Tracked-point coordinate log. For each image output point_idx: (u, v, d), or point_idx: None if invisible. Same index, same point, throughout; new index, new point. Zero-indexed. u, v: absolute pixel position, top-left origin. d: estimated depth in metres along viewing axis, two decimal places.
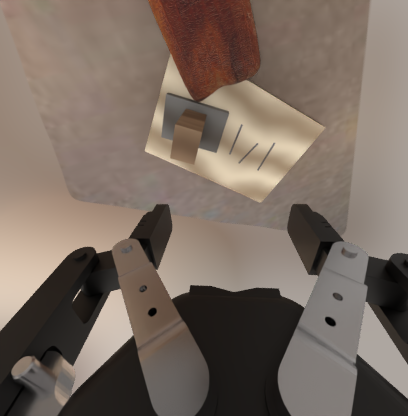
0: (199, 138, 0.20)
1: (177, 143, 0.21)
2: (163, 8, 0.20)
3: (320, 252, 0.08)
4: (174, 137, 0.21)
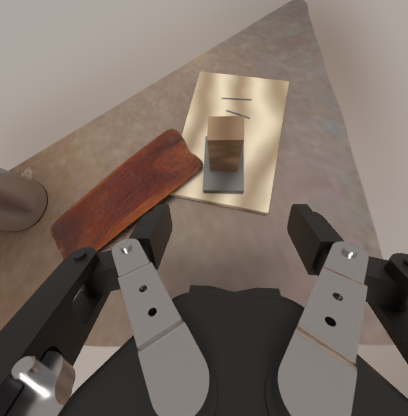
0: (214, 117, 0.21)
1: (225, 134, 0.20)
2: (150, 197, 0.28)
3: (320, 252, 0.08)
4: (219, 138, 0.20)
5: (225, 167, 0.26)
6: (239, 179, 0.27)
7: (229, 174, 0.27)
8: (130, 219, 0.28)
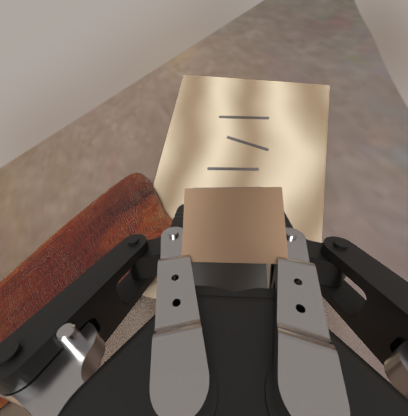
0: (201, 191, 0.08)
1: (233, 245, 0.07)
2: None
3: None
4: (217, 258, 0.07)
5: None
6: (258, 275, 0.14)
7: (238, 265, 0.14)
8: None
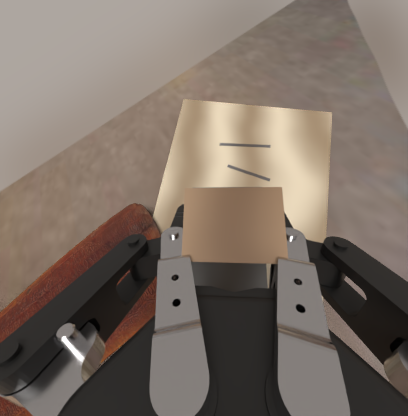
0: (201, 191, 0.08)
1: (233, 245, 0.07)
2: None
3: None
4: (217, 258, 0.07)
5: None
6: (258, 275, 0.14)
7: (238, 265, 0.14)
8: None
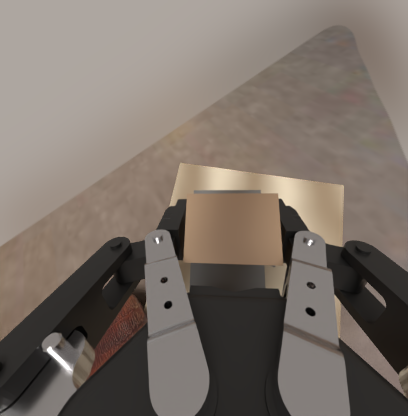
0: (202, 196, 0.08)
1: (232, 248, 0.08)
2: None
3: (287, 241, 0.09)
4: (217, 259, 0.08)
5: None
6: (256, 276, 0.15)
7: (237, 266, 0.15)
8: None
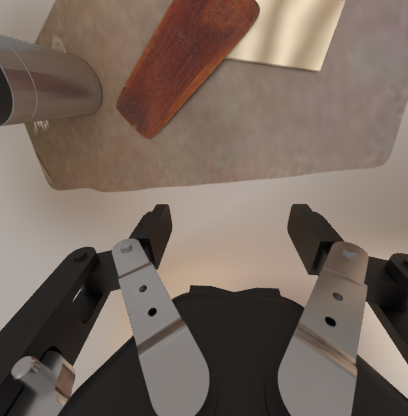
0: None
1: None
2: (205, 65, 0.28)
3: (320, 252, 0.08)
4: None
5: None
6: None
7: None
8: (189, 92, 0.31)
